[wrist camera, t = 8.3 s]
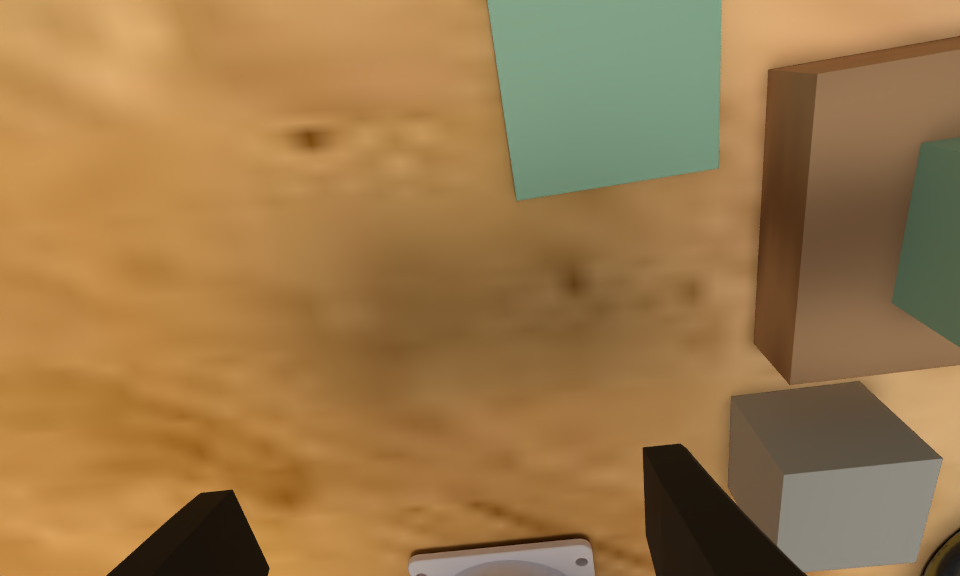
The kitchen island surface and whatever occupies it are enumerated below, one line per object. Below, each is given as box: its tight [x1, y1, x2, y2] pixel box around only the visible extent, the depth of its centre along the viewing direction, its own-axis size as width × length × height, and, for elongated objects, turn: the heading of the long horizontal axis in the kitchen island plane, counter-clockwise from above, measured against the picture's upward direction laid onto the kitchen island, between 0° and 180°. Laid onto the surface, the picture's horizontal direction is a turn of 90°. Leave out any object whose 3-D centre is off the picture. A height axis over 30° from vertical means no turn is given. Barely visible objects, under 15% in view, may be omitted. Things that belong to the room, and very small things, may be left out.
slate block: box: [728, 381, 943, 572], centre depth 18 cm, size 4×4×4 cm
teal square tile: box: [487, 0, 721, 201], centre depth 15 cm, size 6×6×1 cm
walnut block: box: [754, 36, 960, 385], centre depth 15 cm, size 9×9×3 cm
